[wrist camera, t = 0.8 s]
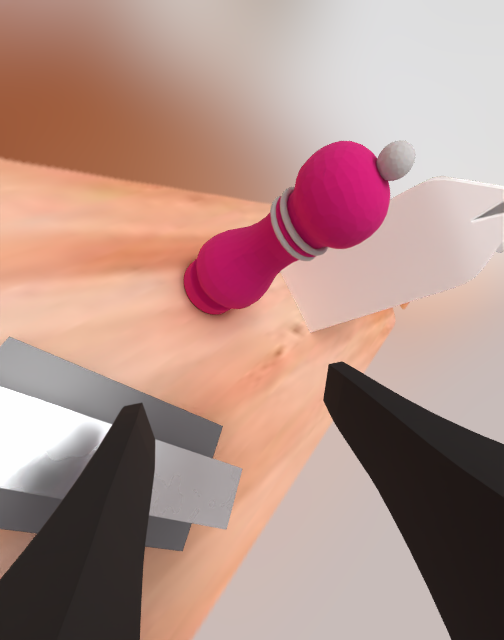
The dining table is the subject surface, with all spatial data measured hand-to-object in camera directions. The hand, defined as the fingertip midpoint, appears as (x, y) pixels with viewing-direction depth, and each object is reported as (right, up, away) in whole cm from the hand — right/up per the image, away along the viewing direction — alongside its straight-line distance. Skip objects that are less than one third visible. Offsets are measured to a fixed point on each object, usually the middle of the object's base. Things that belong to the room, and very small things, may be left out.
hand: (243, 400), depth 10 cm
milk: (+10, +9, +30) cm, 33 cm away
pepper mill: (-4, +7, +18) cm, 19 cm away
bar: (-10, -6, +7) cm, 14 cm away
